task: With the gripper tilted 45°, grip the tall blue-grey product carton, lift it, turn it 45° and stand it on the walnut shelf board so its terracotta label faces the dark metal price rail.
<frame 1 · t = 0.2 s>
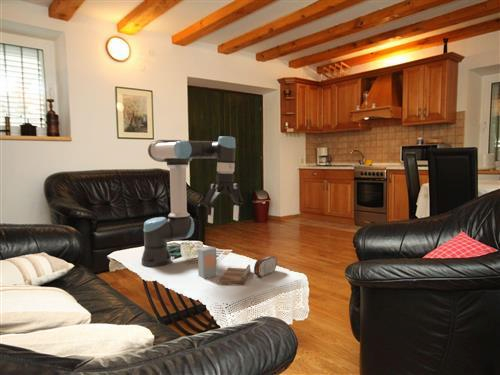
hand: (223, 221, 154), 27 cm above the table, tool pointing down, fingers open, 13 cm apart
price rail: (246, 272, 162), on the shelf board, point 2 cm above the table
carton: (207, 275, 166), on the table
tin: (266, 274, 167), on the table
shelf board: (235, 277, 163), on the table
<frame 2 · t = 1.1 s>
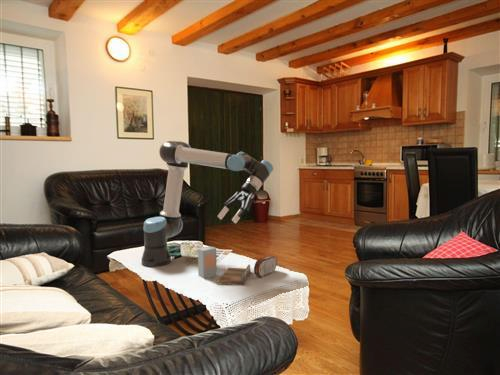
hand: (226, 219, 170), 25 cm above the table, tool tilted 45°, fingers open, 13 cm apart
nothing on the table moved.
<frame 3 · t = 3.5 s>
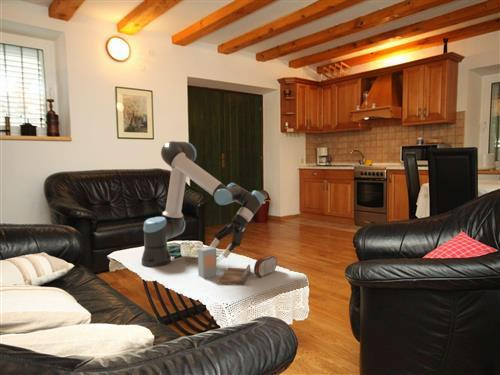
hand: (216, 253, 167), 10 cm above the table, tool tilted 45°, fingers open, 13 cm apart
nothing on the table moved.
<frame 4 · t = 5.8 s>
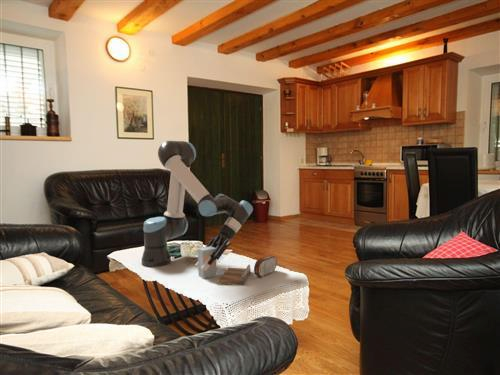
hand: (200, 268, 164), 4 cm above the table, tool tilted 45°, fingers closed on carton, 5 cm apart
carton: (207, 275, 166), on the table, touching gripper
everything else where it was.
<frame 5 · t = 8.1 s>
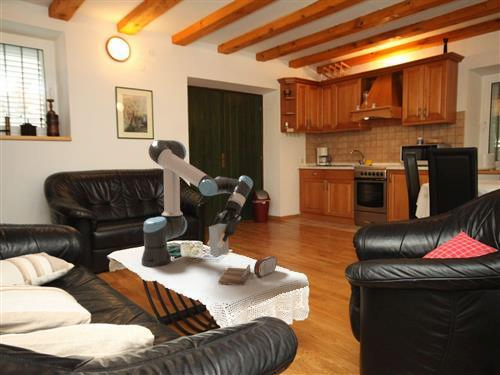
hand: (214, 246, 160), 15 cm above the table, tool tilted 40°, fingers closed on carton, 5 cm apart
carton: (219, 253, 163), point 11 cm above the table, touching gripper
everything else where it was.
when the fingers open (7 cm above the table, at t = 10.7 s): carton drops 1 cm, resting on shelf board.
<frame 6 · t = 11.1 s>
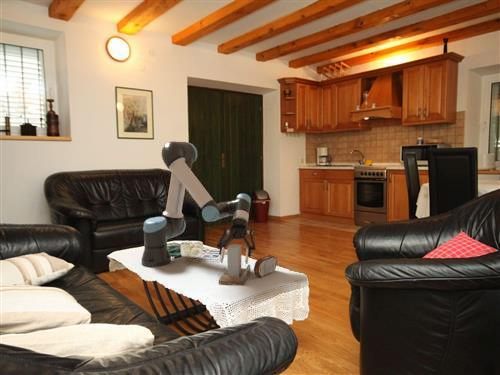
hand: (233, 261, 159), 8 cm above the table, tool tilted 45°, fingers open, 11 cm apart
carton: (234, 274, 163), point 2 cm above the table, touching shelf board
everything else where it was.
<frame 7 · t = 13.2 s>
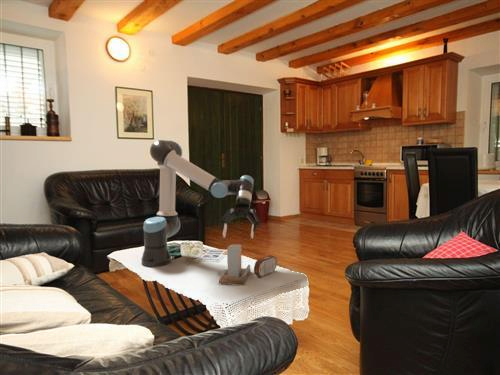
hand: (237, 236, 168), 18 cm above the table, tool tilted 45°, fingers open, 13 cm apart
nothing on the table moved.
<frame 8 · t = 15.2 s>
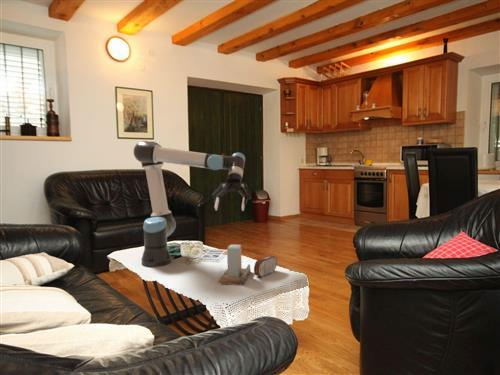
hand: (229, 209, 174), 30 cm above the table, tool tilted 45°, fingers open, 13 cm apart
nothing on the table moved.
at the end: carton inside the target area on the shelf board (0.3 cm from its centre), point 1.5 cm above the shelf board's base; carton tilted 0°; the gripper is holding nothing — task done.
